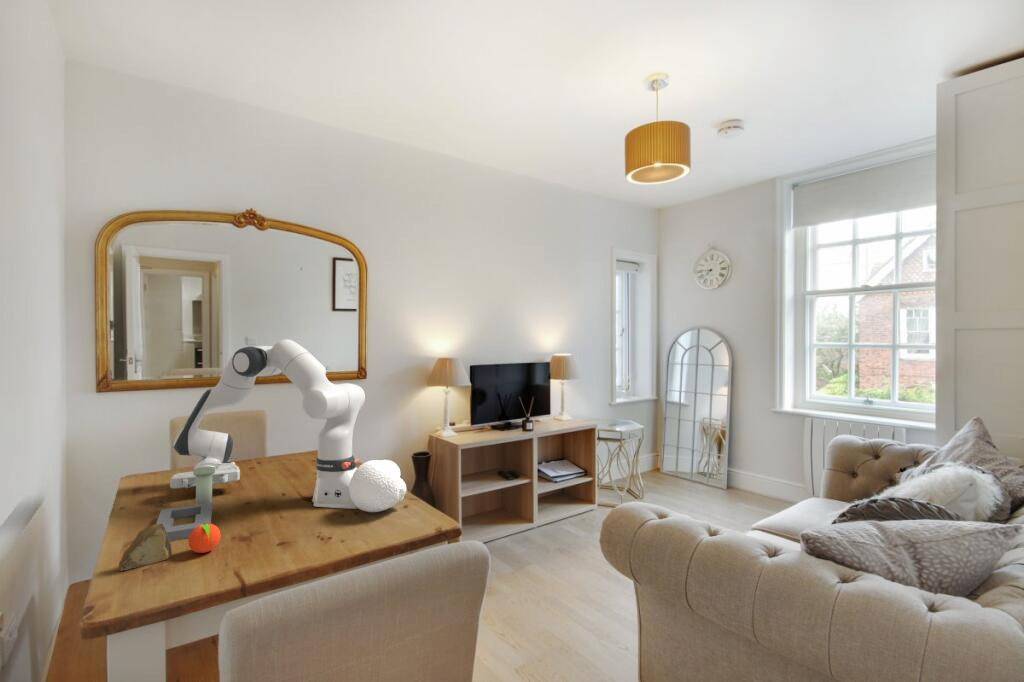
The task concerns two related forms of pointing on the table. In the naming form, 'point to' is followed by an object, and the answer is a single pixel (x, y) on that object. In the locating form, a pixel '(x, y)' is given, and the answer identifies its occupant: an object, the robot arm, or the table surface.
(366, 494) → the white lumpy blob
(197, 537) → the clementine
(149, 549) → the rock
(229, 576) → the table surface
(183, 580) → the table surface
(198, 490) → the sage post
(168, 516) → the keyhole board
